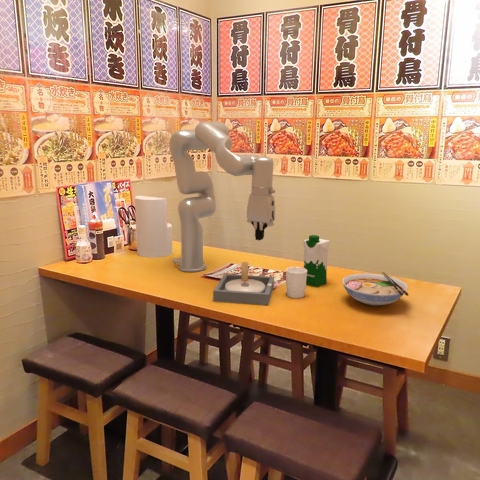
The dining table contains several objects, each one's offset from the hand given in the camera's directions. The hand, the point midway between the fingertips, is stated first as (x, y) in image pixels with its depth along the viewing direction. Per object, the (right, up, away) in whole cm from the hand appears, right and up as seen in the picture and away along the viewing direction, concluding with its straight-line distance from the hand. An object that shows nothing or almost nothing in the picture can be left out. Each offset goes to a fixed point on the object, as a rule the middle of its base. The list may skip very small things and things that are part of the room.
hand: (259, 239), depth 172 cm
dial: (-5, -19, +1) cm, 20 cm away
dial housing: (-5, -21, +1) cm, 21 cm away
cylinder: (-50, -7, +56) cm, 75 cm away
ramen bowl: (+41, -23, -6) cm, 47 cm away
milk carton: (+23, -18, +13) cm, 32 cm away
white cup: (+14, -21, 0) cm, 25 cm away
